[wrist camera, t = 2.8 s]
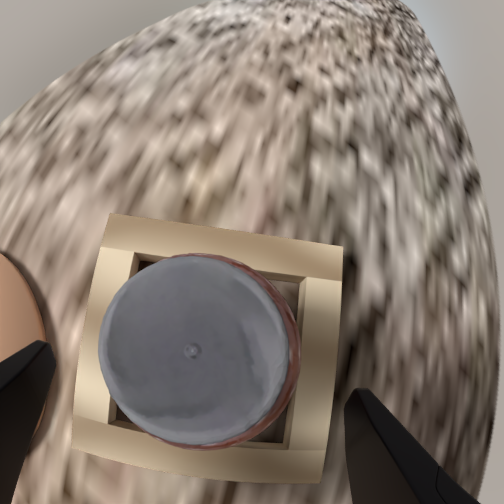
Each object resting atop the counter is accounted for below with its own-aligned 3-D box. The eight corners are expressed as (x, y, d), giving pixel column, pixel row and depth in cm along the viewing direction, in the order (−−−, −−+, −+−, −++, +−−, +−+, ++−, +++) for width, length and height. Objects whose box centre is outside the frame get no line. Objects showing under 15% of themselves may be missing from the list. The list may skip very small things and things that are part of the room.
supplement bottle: (225, 280, 18) (242, 165, 7) (284, 370, 17) (390, 382, 6) (133, 334, 17) (20, 292, 6) (191, 427, 15) (157, 527, 5)
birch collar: (312, 474, 15) (320, 482, 14) (81, 441, 14) (71, 447, 13) (333, 255, 19) (342, 246, 18) (116, 223, 18) (109, 213, 17)
